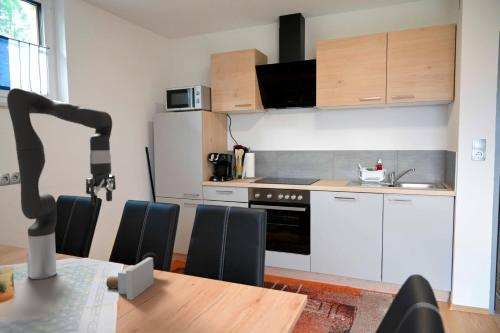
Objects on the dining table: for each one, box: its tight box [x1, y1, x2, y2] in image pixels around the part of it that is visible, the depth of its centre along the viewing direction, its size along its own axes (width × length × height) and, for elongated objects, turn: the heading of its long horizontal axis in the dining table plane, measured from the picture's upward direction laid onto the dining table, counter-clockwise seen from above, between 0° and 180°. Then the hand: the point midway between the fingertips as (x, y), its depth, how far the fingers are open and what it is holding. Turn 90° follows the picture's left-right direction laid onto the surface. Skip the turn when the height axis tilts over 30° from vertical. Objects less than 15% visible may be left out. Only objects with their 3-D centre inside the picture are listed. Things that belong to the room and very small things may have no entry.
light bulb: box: [141, 252, 158, 271], centre depth 134 cm, size 6×6×10 cm
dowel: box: [105, 275, 118, 290], centre depth 124 cm, size 11×4×4 cm, turn 76°
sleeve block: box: [117, 264, 136, 295], centre depth 122 cm, size 6×8×8 cm
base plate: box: [126, 257, 155, 301], centre depth 121 cm, size 2×14×10 cm, turn 166°
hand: (102, 202), depth 133 cm, fingers open, 8 cm apart
